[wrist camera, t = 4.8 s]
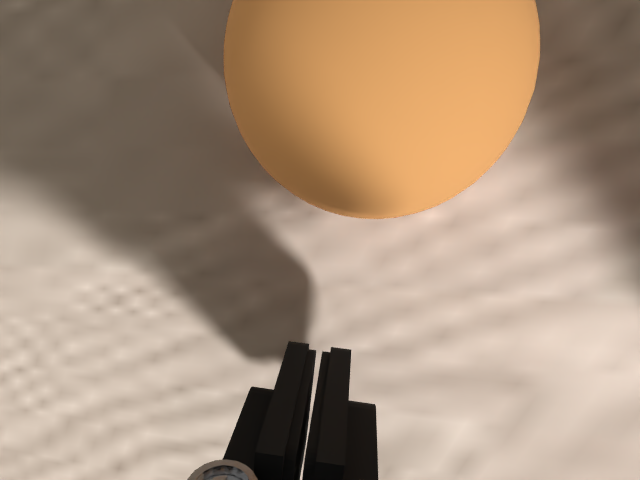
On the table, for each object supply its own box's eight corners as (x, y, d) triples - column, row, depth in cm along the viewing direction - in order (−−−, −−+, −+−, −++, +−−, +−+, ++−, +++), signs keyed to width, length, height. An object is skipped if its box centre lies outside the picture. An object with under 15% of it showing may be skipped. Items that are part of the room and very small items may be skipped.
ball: (622, -173, 7) (486, 78, 12) (256, -234, 7) (279, 37, 12) (617, 151, 5) (458, 281, 10) (121, 48, 5) (216, 226, 10)
